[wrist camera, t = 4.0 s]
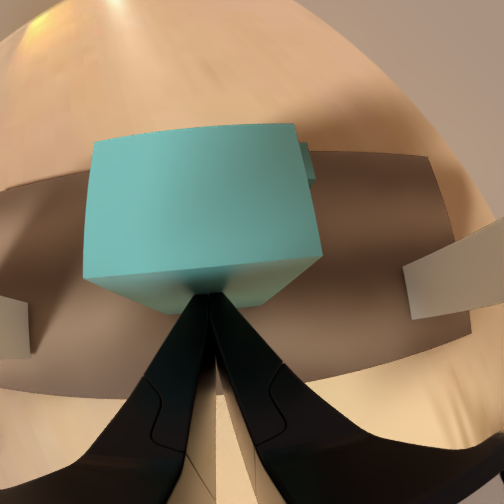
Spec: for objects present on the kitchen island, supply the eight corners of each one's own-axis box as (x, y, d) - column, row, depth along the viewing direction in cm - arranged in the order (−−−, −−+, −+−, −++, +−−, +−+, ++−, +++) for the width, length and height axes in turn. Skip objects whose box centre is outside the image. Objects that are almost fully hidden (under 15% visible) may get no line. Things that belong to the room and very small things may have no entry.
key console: (460, 334, 16) (504, 329, 12) (-9, 382, 12) (-50, 386, 8) (419, 164, 19) (449, 134, 15) (-4, 201, 15) (-36, 176, 11)
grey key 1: (463, 305, 15) (580, 272, 6) (411, 319, 15) (548, 291, 6) (454, 258, 16) (564, 205, 7) (402, 266, 15) (527, 203, 7)
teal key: (261, 305, 14) (322, 255, 5) (167, 314, 14) (83, 278, 5) (253, 243, 15) (293, 123, 6) (162, 252, 14) (94, 142, 6)
